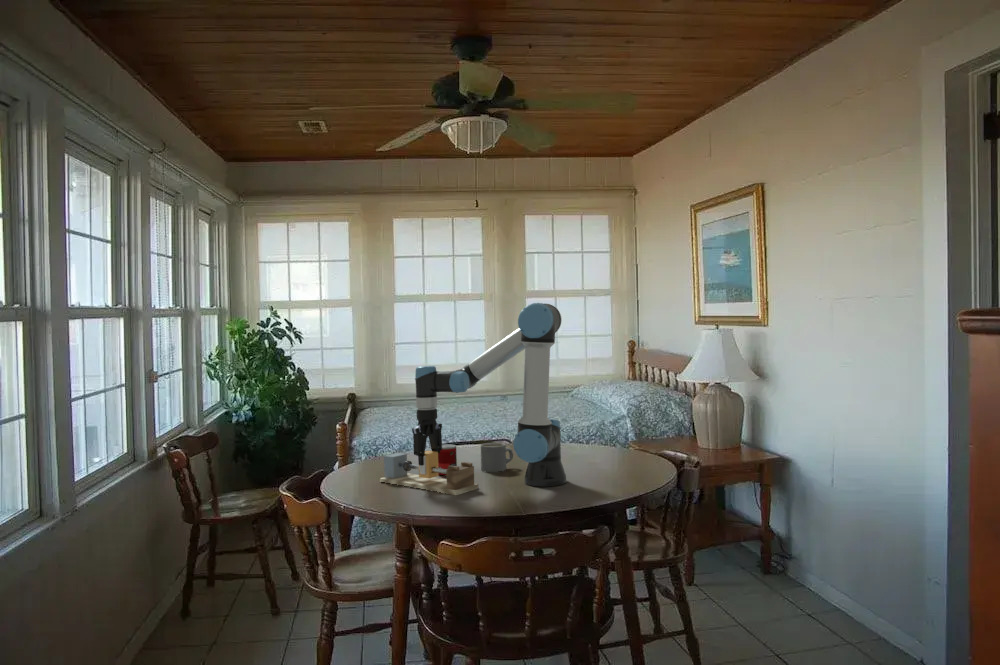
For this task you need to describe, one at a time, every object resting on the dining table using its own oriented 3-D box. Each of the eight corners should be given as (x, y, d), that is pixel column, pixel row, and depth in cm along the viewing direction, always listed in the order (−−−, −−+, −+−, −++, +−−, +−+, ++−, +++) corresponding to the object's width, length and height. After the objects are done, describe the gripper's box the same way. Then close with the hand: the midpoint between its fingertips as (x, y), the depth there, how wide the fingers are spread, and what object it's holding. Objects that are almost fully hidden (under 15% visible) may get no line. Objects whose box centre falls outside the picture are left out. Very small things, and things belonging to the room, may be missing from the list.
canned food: (454, 476, 271) (453, 447, 271) (434, 476, 273) (433, 447, 272) (459, 472, 278) (458, 444, 278) (439, 471, 280) (439, 444, 280)
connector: (407, 475, 268) (406, 454, 268) (393, 478, 263) (393, 457, 263) (398, 473, 271) (397, 452, 271) (384, 477, 266) (383, 455, 266)
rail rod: (459, 477, 250) (459, 466, 250) (452, 479, 247) (452, 468, 247) (402, 468, 268) (401, 458, 268) (394, 470, 265) (394, 460, 265)
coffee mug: (484, 473, 275) (483, 447, 275) (479, 468, 285) (478, 443, 285) (517, 470, 278) (516, 445, 278) (511, 465, 288) (510, 441, 288)
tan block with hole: (438, 475, 257) (437, 451, 257) (429, 478, 253) (428, 454, 253) (428, 474, 260) (427, 450, 260) (419, 476, 256) (418, 452, 256)
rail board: (478, 488, 250) (477, 462, 250) (456, 495, 241) (455, 468, 240) (402, 476, 273) (402, 452, 273) (379, 482, 264) (379, 457, 264)
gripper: (436, 405, 266) (438, 467, 266) (401, 410, 251) (403, 476, 252) (451, 406, 261) (453, 469, 261) (416, 412, 247) (418, 478, 247)
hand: (428, 472), depth 257 cm, fingers closed on tan block with hole, 5 cm apart
